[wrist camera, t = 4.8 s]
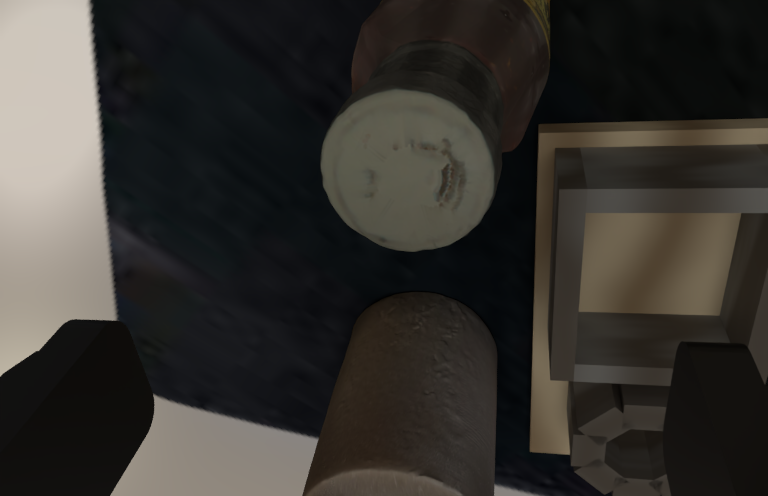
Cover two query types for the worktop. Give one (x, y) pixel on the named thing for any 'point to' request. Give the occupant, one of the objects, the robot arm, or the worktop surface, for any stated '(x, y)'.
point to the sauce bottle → (433, 116)
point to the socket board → (640, 280)
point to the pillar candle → (411, 404)
